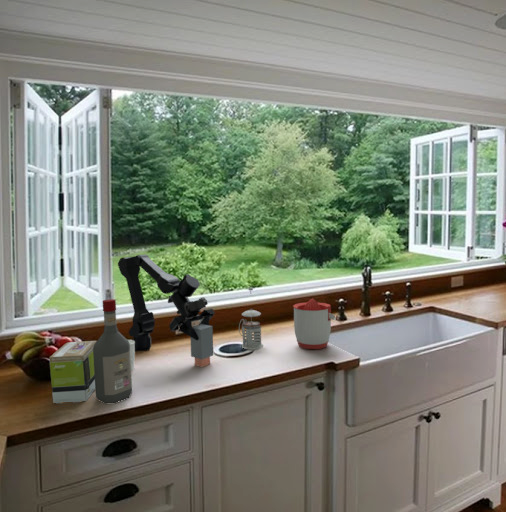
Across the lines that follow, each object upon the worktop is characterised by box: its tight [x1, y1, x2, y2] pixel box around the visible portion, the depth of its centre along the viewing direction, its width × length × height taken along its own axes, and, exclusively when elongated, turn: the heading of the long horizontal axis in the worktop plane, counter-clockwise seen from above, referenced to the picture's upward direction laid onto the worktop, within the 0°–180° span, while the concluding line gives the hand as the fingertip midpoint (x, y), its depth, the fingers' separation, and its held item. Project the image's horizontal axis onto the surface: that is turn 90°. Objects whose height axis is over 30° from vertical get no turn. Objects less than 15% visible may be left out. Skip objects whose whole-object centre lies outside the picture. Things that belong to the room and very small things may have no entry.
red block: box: [194, 356, 211, 368], centre depth 155 cm, size 4×4×4 cm
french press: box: [238, 286, 265, 350], centre depth 174 cm, size 10×12×25 cm
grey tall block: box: [189, 323, 214, 359], centre depth 154 cm, size 6×6×11 cm
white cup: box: [127, 339, 136, 372], centre depth 151 cm, size 8×8×10 cm
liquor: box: [93, 298, 133, 404], centre depth 126 cm, size 9×9×30 cm
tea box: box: [49, 340, 97, 404], centre depth 131 cm, size 15×10×15 cm, turn 5°
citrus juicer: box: [292, 298, 336, 350], centre depth 173 cm, size 16×17×20 cm
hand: (204, 337), depth 153 cm, fingers closed on grey tall block, 6 cm apart
